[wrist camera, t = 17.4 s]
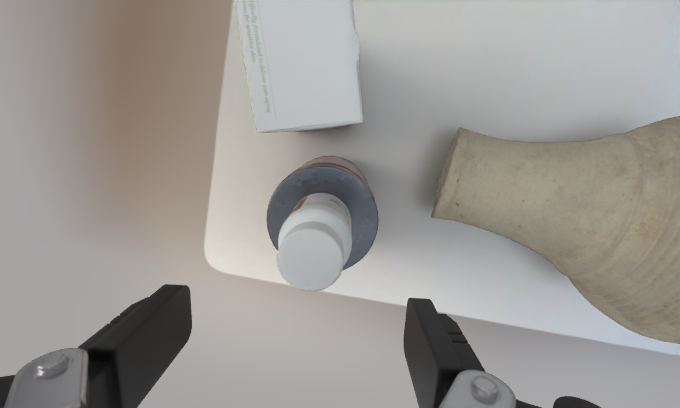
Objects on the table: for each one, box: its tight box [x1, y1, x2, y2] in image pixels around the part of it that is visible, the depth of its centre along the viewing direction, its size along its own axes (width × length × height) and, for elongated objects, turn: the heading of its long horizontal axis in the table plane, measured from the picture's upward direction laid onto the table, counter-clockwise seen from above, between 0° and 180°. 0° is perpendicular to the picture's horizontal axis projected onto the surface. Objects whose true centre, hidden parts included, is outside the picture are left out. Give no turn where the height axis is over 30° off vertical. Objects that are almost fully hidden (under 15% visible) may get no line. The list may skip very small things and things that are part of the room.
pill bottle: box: [277, 193, 352, 291], centre depth 20 cm, size 4×4×8 cm
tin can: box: [267, 156, 378, 270], centre depth 29 cm, size 8×8×11 cm
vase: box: [431, 116, 680, 344], centre depth 26 cm, size 22×22×28 cm
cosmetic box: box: [234, 0, 363, 133], centre depth 24 cm, size 8×7×16 cm
